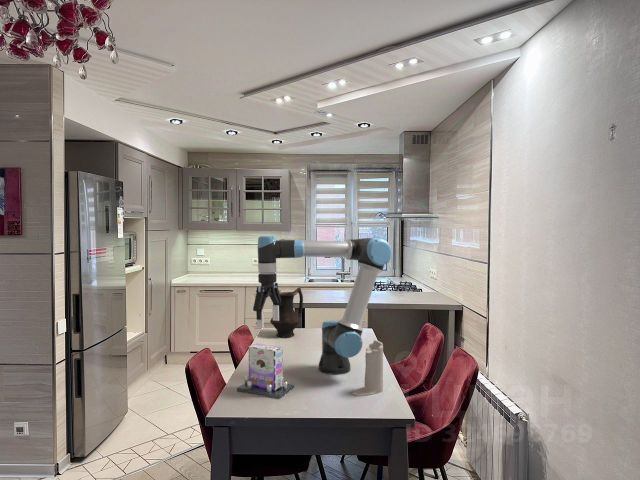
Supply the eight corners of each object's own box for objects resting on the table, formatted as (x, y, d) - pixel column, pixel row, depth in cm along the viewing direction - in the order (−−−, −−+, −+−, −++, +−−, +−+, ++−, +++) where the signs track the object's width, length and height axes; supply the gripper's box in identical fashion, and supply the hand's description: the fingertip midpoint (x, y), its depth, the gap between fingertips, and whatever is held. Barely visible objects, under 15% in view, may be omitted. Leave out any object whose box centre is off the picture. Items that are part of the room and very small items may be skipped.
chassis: (293, 388, 176) (293, 377, 176) (280, 398, 165) (280, 387, 165) (252, 381, 184) (252, 371, 184) (237, 391, 173) (236, 380, 173)
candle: (348, 391, 173) (348, 342, 172) (375, 385, 179) (375, 338, 179) (358, 397, 166) (358, 347, 166) (386, 391, 173) (386, 342, 173)
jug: (275, 341, 251) (275, 290, 251) (266, 334, 268) (266, 287, 268) (308, 337, 260) (308, 288, 259) (297, 331, 277) (297, 285, 276)
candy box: (283, 386, 174) (283, 347, 173) (274, 391, 169) (274, 350, 168) (257, 380, 181) (257, 342, 181) (248, 385, 176) (248, 345, 176)
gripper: (273, 270, 189) (274, 317, 189) (243, 276, 166) (244, 329, 166) (288, 270, 186) (289, 318, 187) (260, 276, 163) (261, 331, 164)
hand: (268, 323), depth 177 cm, fingers open, 13 cm apart
